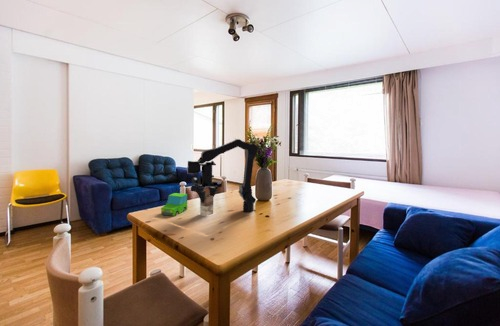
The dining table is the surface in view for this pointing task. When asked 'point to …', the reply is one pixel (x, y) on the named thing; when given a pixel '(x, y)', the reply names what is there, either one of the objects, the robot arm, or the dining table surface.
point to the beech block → (206, 210)
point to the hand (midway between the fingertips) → (206, 201)
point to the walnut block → (207, 201)
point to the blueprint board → (205, 215)
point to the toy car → (175, 204)
